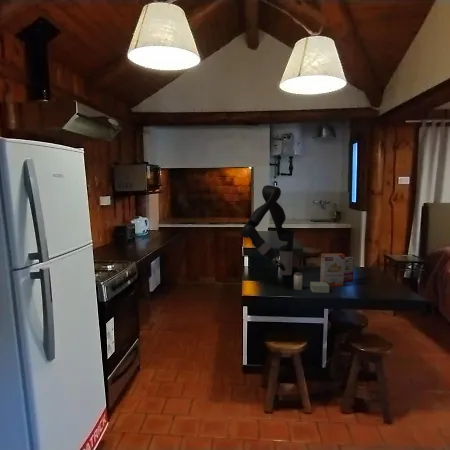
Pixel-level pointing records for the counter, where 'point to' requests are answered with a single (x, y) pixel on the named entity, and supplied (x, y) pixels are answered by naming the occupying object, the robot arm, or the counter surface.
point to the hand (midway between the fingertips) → (284, 268)
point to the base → (319, 287)
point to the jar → (298, 281)
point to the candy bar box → (348, 269)
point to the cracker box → (332, 269)
